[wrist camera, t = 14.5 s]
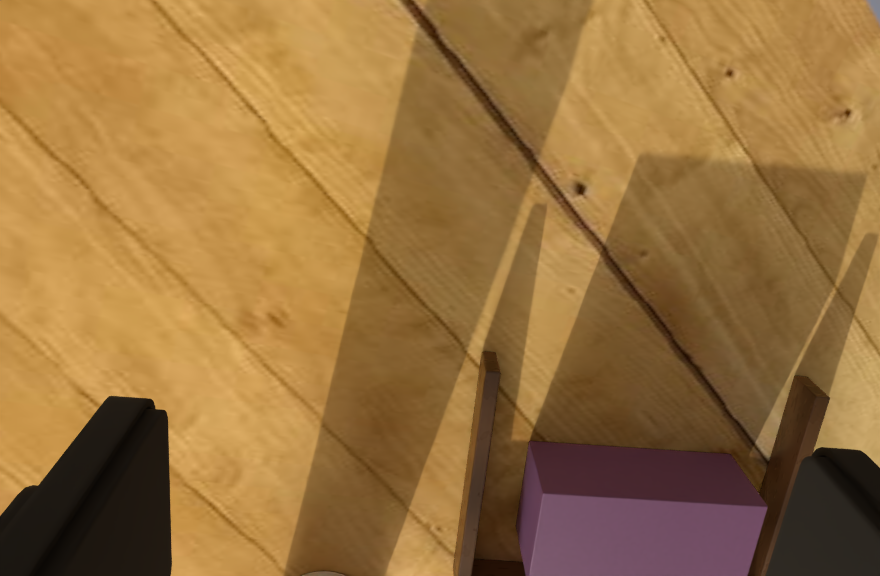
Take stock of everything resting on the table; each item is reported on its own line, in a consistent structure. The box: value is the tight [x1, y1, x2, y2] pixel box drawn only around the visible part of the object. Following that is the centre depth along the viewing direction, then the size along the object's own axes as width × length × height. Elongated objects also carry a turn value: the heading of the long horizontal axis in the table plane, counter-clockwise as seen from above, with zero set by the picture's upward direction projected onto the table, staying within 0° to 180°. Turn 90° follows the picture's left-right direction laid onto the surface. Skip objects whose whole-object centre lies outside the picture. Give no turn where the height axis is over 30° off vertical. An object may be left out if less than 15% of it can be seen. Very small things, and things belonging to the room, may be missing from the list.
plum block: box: [516, 441, 768, 576], centre depth 43 cm, size 6×12×5 cm, turn 85°
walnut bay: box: [453, 352, 830, 576], centre depth 43 cm, size 15×19×2 cm
